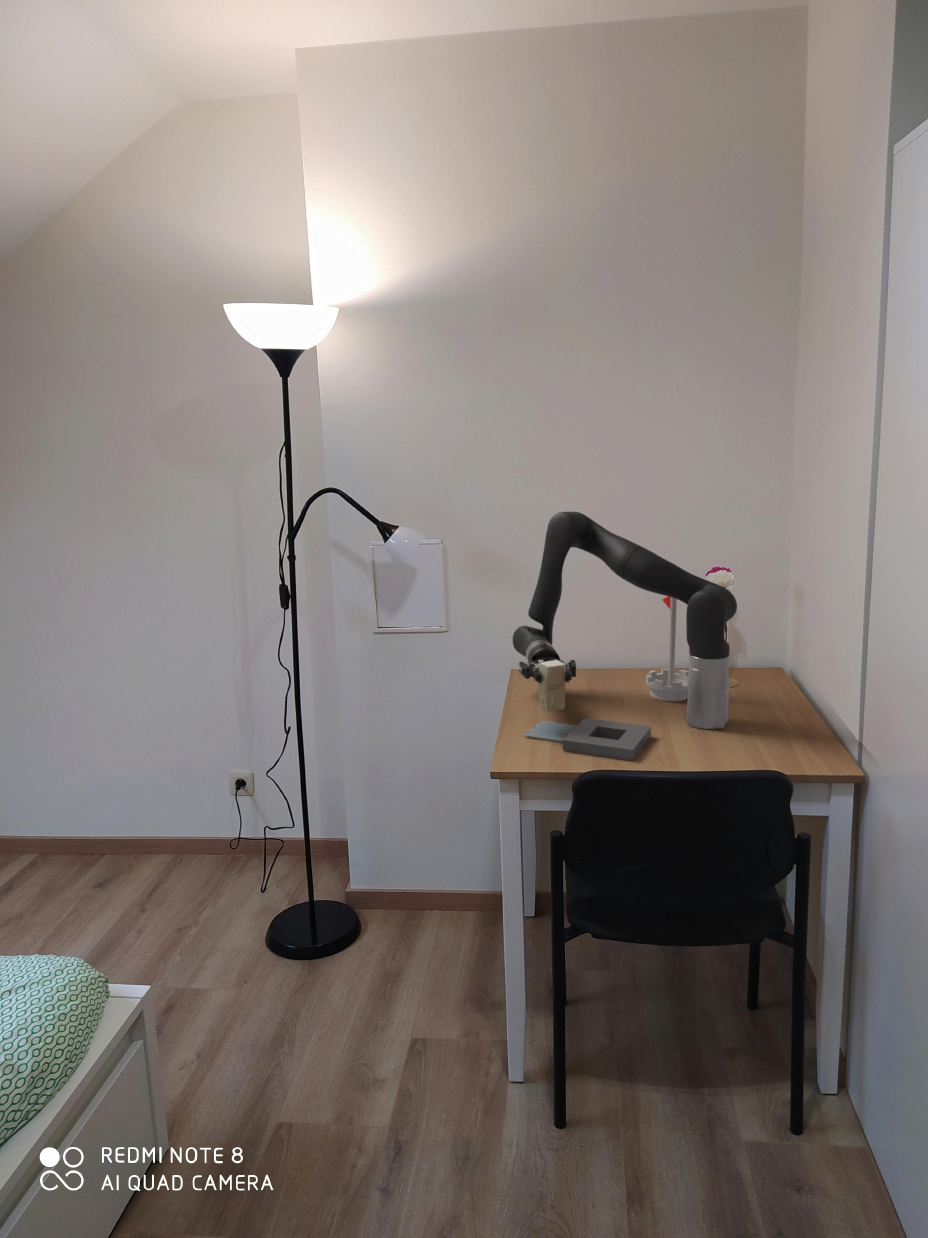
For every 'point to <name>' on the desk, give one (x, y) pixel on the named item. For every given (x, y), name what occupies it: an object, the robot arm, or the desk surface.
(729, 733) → the desk surface
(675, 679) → the flag stand
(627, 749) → the socket block
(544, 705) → the box
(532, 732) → the pad
